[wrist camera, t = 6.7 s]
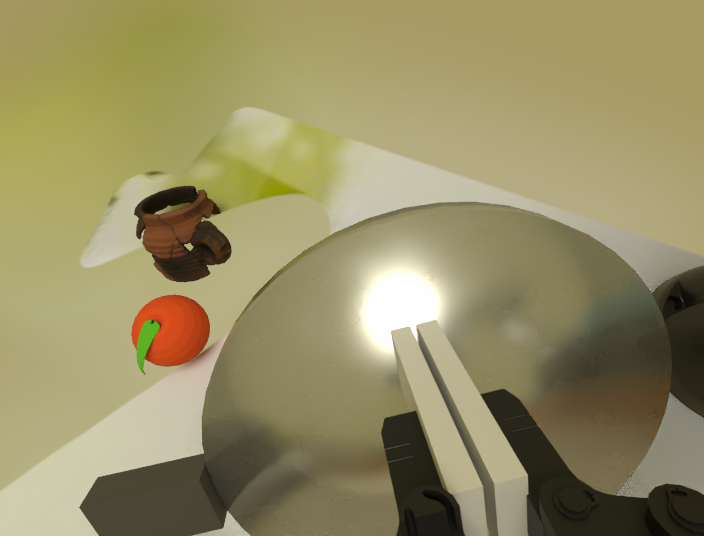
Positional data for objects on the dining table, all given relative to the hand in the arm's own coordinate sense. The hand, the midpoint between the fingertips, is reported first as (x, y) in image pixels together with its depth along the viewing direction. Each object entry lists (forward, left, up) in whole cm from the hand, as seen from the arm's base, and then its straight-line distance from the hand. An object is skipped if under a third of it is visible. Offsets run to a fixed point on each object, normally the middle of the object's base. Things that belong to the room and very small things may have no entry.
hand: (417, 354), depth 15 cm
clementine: (+20, -9, -24) cm, 33 cm away
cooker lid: (+2, +3, -4) cm, 6 cm away
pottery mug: (+18, -20, -24) cm, 36 cm away
